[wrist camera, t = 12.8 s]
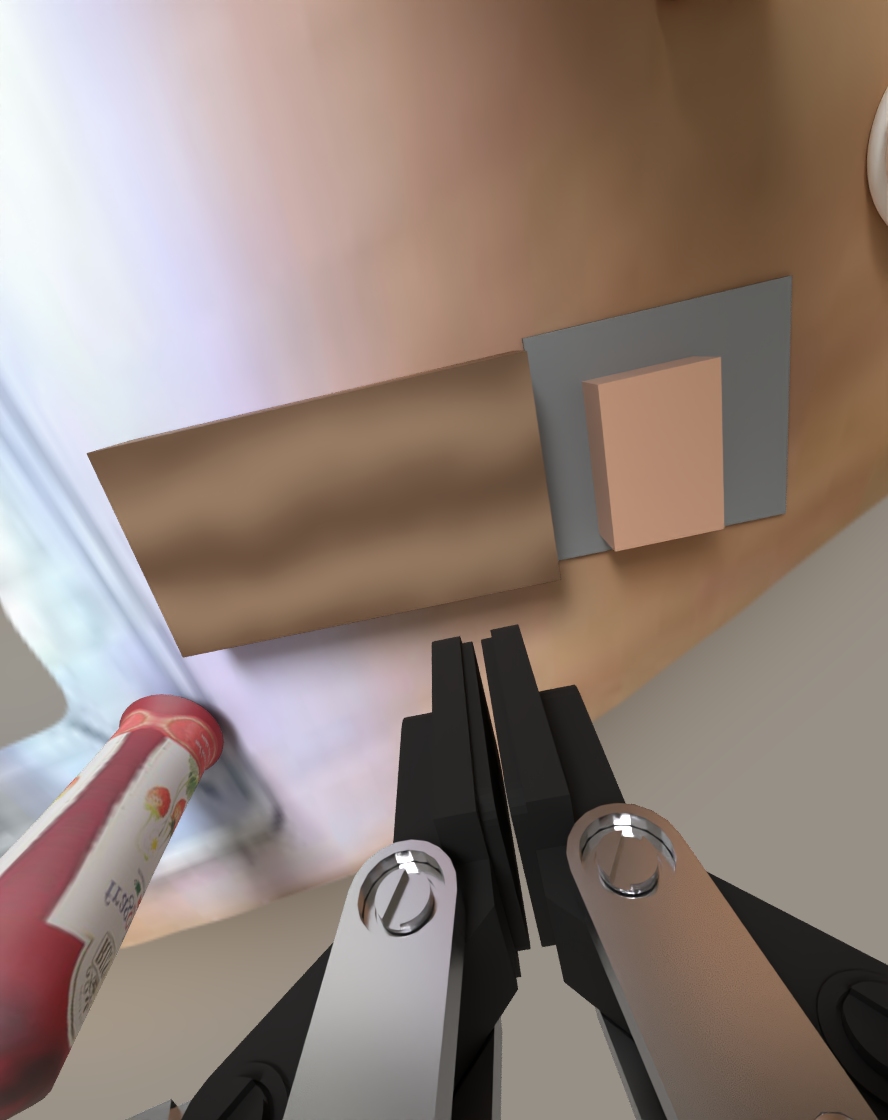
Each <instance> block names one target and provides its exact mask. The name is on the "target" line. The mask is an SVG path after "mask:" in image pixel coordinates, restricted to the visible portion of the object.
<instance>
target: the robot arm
mask: <svg viewBox="0 0 888 1120" xmlns="http://www.w3.org/2000/svg"><path fill="white" fill-rule="evenodd" d="M490 631H491V636H492V638H487V639H482V640H481V643H482V649H483V655H484V661H485V667H486V673H487V679H488V685H489V691H490V698H491V704H492V710H493V716H494V722H495V728H496V734H497V740H498V746H499V752H500V758H501V764H502V769H501V764H500V758H499V753H498V749H497V744H496V740H495V736H494V731H493V727H492V723H491V719H490V714H489V710H488V706H487V702H486V697H485V693H484V689H483V684H482V680H481V676H480V672H479V667H478V663H477V659H476V655H475V650H474V646H473V643H472V642H467V643H462V641H461V638H460V636H459V637H454V638H449V639H444V640H439V641H434V642H432V713H427V714H422V715H416V716H411V717H406V718H404V719H403V722H402V729H401V743H400V757H399V771H398V785H397V799H396V813H395V827H394V841H393V844H391V845H389V846H387V847H385V848H383V849H381V850H379V851H378V852H377V853H376V854H374V855H373V856H372V857H371V858H370V859H368V860H367V861H366V862H365V864H364V865H363V866H362V867H361V869H360V870H359V871H358V873H357V874H356V875H355V878H354V880H353V882H352V884H351V887H350V889H349V891H348V894H347V898H346V902H345V905H344V908H343V912H342V915H341V919H340V922H339V925H338V929H337V932H336V936H335V939H334V942H333V943H332V944H331V946H330V947H329V948H328V949H327V950H326V951H325V952H324V953H323V954H322V955H321V956H320V957H319V958H318V960H317V961H316V962H315V963H314V964H313V965H312V966H311V967H310V968H309V969H308V970H307V972H306V973H305V974H304V975H303V976H302V977H301V978H300V979H299V980H298V981H297V982H296V983H295V985H294V986H293V987H292V988H291V989H290V990H289V991H288V992H287V993H286V994H285V995H284V996H283V998H282V999H281V1000H280V1001H279V1002H278V1003H277V1004H276V1005H275V1006H274V1008H272V1010H271V1011H270V1012H269V1013H268V1014H267V1015H266V1016H265V1017H264V1018H263V1019H262V1020H261V1022H259V1024H258V1025H257V1026H256V1027H255V1028H254V1029H253V1030H252V1031H251V1032H250V1033H249V1035H248V1036H247V1037H246V1038H245V1039H244V1040H243V1041H242V1042H241V1043H240V1044H239V1045H238V1047H236V1049H235V1050H234V1051H233V1052H232V1053H231V1054H230V1055H229V1056H228V1057H227V1058H226V1059H225V1060H224V1062H223V1063H222V1064H221V1065H220V1066H219V1067H218V1068H217V1069H216V1070H215V1071H214V1072H213V1074H212V1075H211V1076H210V1077H209V1078H208V1079H207V1081H206V1082H205V1083H204V1084H203V1086H202V1087H201V1088H200V1090H199V1091H198V1092H197V1094H196V1095H195V1096H194V1098H193V1099H192V1100H190V1101H188V1102H186V1103H184V1104H182V1105H179V1106H177V1105H176V1104H175V1103H174V1102H173V1100H172V1099H170V1100H168V1101H166V1102H164V1103H162V1104H160V1105H157V1106H155V1107H153V1108H150V1109H148V1110H146V1111H144V1112H142V1113H139V1114H137V1115H135V1116H133V1117H131V1118H128V1119H126V1120H501V1078H502V1077H501V1075H502V1025H501V1015H502V1014H503V1012H504V1010H505V1008H506V1007H507V1006H508V1004H509V1002H510V1001H511V999H512V998H513V996H514V995H515V993H516V992H517V990H518V986H517V979H516V977H521V972H520V966H519V958H518V951H521V950H526V949H530V941H529V934H528V928H527V922H526V916H525V910H524V903H523V898H522V892H521V885H520V879H519V874H518V867H517V862H516V855H515V849H514V843H513V837H512V831H511V824H510V818H509V812H508V806H507V800H506V794H505V788H504V782H505V787H506V793H507V798H508V803H509V808H510V812H511V818H512V822H513V826H514V830H515V835H516V838H517V843H518V848H519V852H520V856H521V860H522V864H523V869H524V873H525V877H526V881H527V885H528V890H529V894H530V898H531V902H532V907H533V911H534V915H535V919H536V923H537V928H538V932H539V936H540V940H541V945H542V947H545V946H551V945H556V947H557V951H558V956H559V961H560V965H561V970H562V974H563V979H564V982H565V983H566V984H567V985H569V986H570V987H571V988H572V989H574V990H575V991H576V992H577V993H579V994H580V995H581V996H582V997H584V998H585V999H586V1000H587V1001H589V1002H590V1003H591V1004H592V1005H594V1006H595V1009H596V1012H597V1016H598V1020H599V1022H600V1025H601V1028H602V1030H603V1033H604V1036H605V1038H606V1041H607V1043H608V1046H609V1049H610V1051H611V1054H612V1057H613V1059H614V1062H615V1065H616V1067H617V1070H618V1073H619V1075H620V1078H621V1080H622V1083H623V1086H624V1088H625V1091H626V1094H627V1096H628V1099H629V1102H630V1104H631V1107H632V1110H633V1113H634V1115H635V1118H636V1120H888V965H886V964H884V963H882V962H881V961H879V960H877V959H875V958H873V957H871V956H869V955H867V954H865V953H863V952H861V951H859V950H857V949H855V948H853V947H851V946H849V945H847V944H845V943H844V942H842V941H840V940H838V939H836V938H834V937H832V936H830V935H828V934H826V933H824V932H822V931H821V930H819V929H817V928H815V927H813V926H811V925H809V924H807V923H805V922H803V921H801V920H799V919H797V918H795V917H793V916H791V915H790V914H788V913H786V912H784V911H782V910H780V909H778V908H776V907H774V906H772V905H770V904H768V903H766V902H764V901H763V900H761V899H759V898H757V897H755V896H753V895H751V894H749V893H747V892H745V891H743V890H741V889H739V888H737V887H735V886H734V885H732V884H730V883H728V882H726V881H724V880H722V879H720V878H718V877H716V876H714V875H712V874H710V873H708V872H707V871H706V870H705V869H704V868H703V866H702V865H701V863H700V862H699V860H698V859H697V857H696V856H695V855H694V853H693V852H692V850H691V849H690V847H689V846H688V844H687V843H686V842H685V840H684V839H683V837H682V836H681V835H680V833H679V832H678V831H677V830H676V829H675V828H674V827H673V826H672V825H671V824H670V822H669V821H668V820H666V819H665V818H663V817H661V816H660V815H658V814H657V813H655V812H654V811H652V810H649V809H646V808H643V807H640V806H637V805H635V804H626V803H625V801H624V799H623V796H622V794H621V791H620V789H619V787H618V784H617V782H616V779H615V777H614V775H613V772H612V770H611V767H610V765H609V763H608V760H607V758H606V755H605V753H604V750H603V748H602V746H601V744H600V741H599V739H598V736H597V734H596V731H595V729H594V726H593V724H592V722H591V719H590V717H589V714H588V712H587V710H586V707H585V705H584V702H583V700H582V698H581V695H580V693H579V691H578V689H577V687H576V686H575V685H571V686H565V687H560V688H555V689H550V690H545V691H540V692H539V691H538V688H537V685H536V681H535V678H534V675H533V671H532V668H531V665H530V662H529V658H528V655H527V652H526V648H525V645H524V642H523V638H522V635H521V632H520V629H519V626H518V625H513V626H508V627H503V628H498V629H493V630H490ZM502 770H503V776H504V782H503V776H502Z"/></svg>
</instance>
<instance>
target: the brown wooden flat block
mask: <svg viewBox="0 0 888 1120" xmlns="http://www.w3.org/2000/svg"><path fill="white" fill-rule="evenodd" d="M87 455H88V457H89V460H90V462H91V464H92V466H93V468H94V470H95V472H96V474H97V477H98V479H99V481H100V483H101V485H102V487H103V489H104V491H105V493H106V496H107V498H108V500H109V502H110V504H111V506H112V508H113V510H114V513H115V515H116V517H117V519H118V521H119V523H120V525H121V527H122V529H123V532H124V534H125V536H126V538H127V540H128V542H129V544H130V546H131V549H132V551H133V553H134V555H135V557H136V559H137V561H138V563H139V565H140V568H141V570H142V572H143V574H144V576H145V578H146V580H147V582H148V585H149V587H150V589H151V591H152V593H153V595H154V597H155V599H156V601H157V604H158V606H159V608H160V610H161V612H162V614H163V616H164V618H165V621H166V623H167V625H168V627H169V629H170V631H171V633H172V635H173V637H174V640H175V642H176V644H177V646H178V648H179V650H180V652H181V654H182V657H188V656H193V655H198V654H203V653H208V652H212V651H217V650H222V649H227V648H232V647H237V646H242V645H246V644H251V643H256V642H261V641H266V640H271V639H275V638H280V637H285V636H290V635H295V634H300V633H305V632H309V631H314V630H319V629H324V628H329V627H334V626H339V625H343V624H348V623H353V622H358V621H363V620H368V619H373V618H377V617H382V616H387V615H392V614H397V613H402V612H407V611H411V610H416V609H421V608H426V607H431V606H436V605H440V604H445V603H450V602H455V601H460V600H465V599H470V598H474V597H479V596H484V595H489V594H494V593H499V592H504V591H508V590H513V589H518V588H523V587H528V586H533V585H538V584H542V583H547V582H552V581H557V580H561V577H560V570H559V563H558V556H557V550H556V543H555V536H554V530H553V523H552V516H551V509H550V503H549V496H548V489H547V482H546V476H545V469H544V462H543V455H542V449H541V442H540V435H539V428H538V422H537V415H536V408H535V401H534V395H533V388H532V381H531V374H530V368H529V361H528V354H527V351H511V352H507V353H503V354H498V355H494V356H490V357H486V358H481V359H477V360H473V361H468V362H464V363H460V364H456V365H451V366H447V367H443V368H438V369H434V370H430V371H426V372H421V373H417V374H413V375H409V376H404V377H400V378H396V379H391V380H387V381H383V382H379V383H374V384H370V385H366V386H362V387H357V388H353V389H349V390H344V391H340V392H336V393H332V394H327V395H323V396H319V397H314V398H310V399H306V400H302V401H297V402H293V403H289V404H285V405H280V406H276V407H272V408H267V409H263V410H259V411H255V412H250V413H246V414H242V415H238V416H233V417H229V418H225V419H220V420H216V421H212V422H208V423H203V424H199V425H195V426H190V427H186V428H182V429H178V430H173V431H169V432H165V433H161V434H156V435H152V436H148V437H143V438H139V439H135V440H131V441H127V442H124V443H120V444H117V445H113V446H110V447H107V448H103V449H100V450H96V451H93V452H90V453H87Z"/></svg>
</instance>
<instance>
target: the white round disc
mask: <svg viewBox="0 0 888 1120" xmlns="http://www.w3.org/2000/svg"><path fill="white" fill-rule="evenodd" d="M867 177H868V183H869V189H870V193H871V196H872V199H873V202H874V205H875V207H876V209H877V211H878V213H879V215H880V216H881V218H882V219H883V220H884V222H885V223H886V225H887V226H888V87H887V89H886V91H885V93H884V95H883V97H882V99H881V102H880V104H879V107H878V109H877V112H876V115H875V118H874V121H873V125H872V128H871V133H870V138H869V144H868V154H867Z"/></svg>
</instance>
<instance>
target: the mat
mask: <svg viewBox="0 0 888 1120" xmlns="http://www.w3.org/2000/svg"><path fill="white" fill-rule="evenodd" d="M791 299H792V275H791V276H787V277H783V278H778V279H774V280H770V281H766V282H761V283H757V284H753V285H749V286H744V287H740V288H736V289H732V290H727V291H723V292H719V293H715V294H710V295H706V296H702V297H698V298H693V299H689V300H685V301H681V302H676V303H672V304H668V305H664V306H659V307H655V308H651V309H646V310H642V311H638V312H634V313H629V314H625V315H621V316H617V317H612V318H608V319H604V320H600V321H595V322H591V323H587V324H583V325H578V326H574V327H570V328H566V329H561V330H557V331H553V332H549V333H544V334H540V335H536V336H532V337H527V338H523V339H522V341H523V348H524V351H527V354H528V361H529V368H530V374H531V381H532V388H533V395H534V401H535V408H536V415H537V422H538V428H539V435H540V442H541V449H542V455H543V462H544V469H545V476H546V482H547V489H548V496H549V503H550V509H551V516H552V523H553V530H554V536H555V543H556V550H557V556H558V561H559V560H564V559H569V558H574V557H578V556H583V555H588V554H593V553H598V552H602V551H607V550H612V547H611V546H610V545H609V544H608V543H607V542H606V541H605V540H604V539H603V538H602V537H601V535H600V534H599V528H598V519H597V510H596V501H595V493H594V484H593V475H592V466H591V457H590V449H589V440H588V431H587V422H586V414H585V405H584V396H583V387H582V381H587V380H591V379H595V378H600V377H604V376H609V375H613V374H617V373H622V372H626V371H631V370H635V369H639V368H644V367H648V366H652V365H657V364H661V363H666V362H670V361H674V360H679V359H683V358H687V357H692V356H700V357H721V386H722V436H723V487H724V526H727V525H732V524H737V523H742V522H746V521H751V520H756V519H761V518H766V517H770V516H775V515H780V514H785V513H786V491H787V453H788V414H789V376H790V338H791Z"/></svg>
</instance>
